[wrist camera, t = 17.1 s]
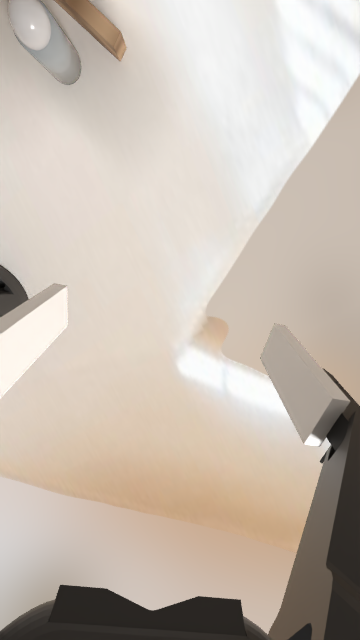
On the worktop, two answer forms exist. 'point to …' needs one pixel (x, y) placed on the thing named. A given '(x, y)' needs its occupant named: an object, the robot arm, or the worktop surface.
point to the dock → (96, 25)
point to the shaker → (44, 39)
